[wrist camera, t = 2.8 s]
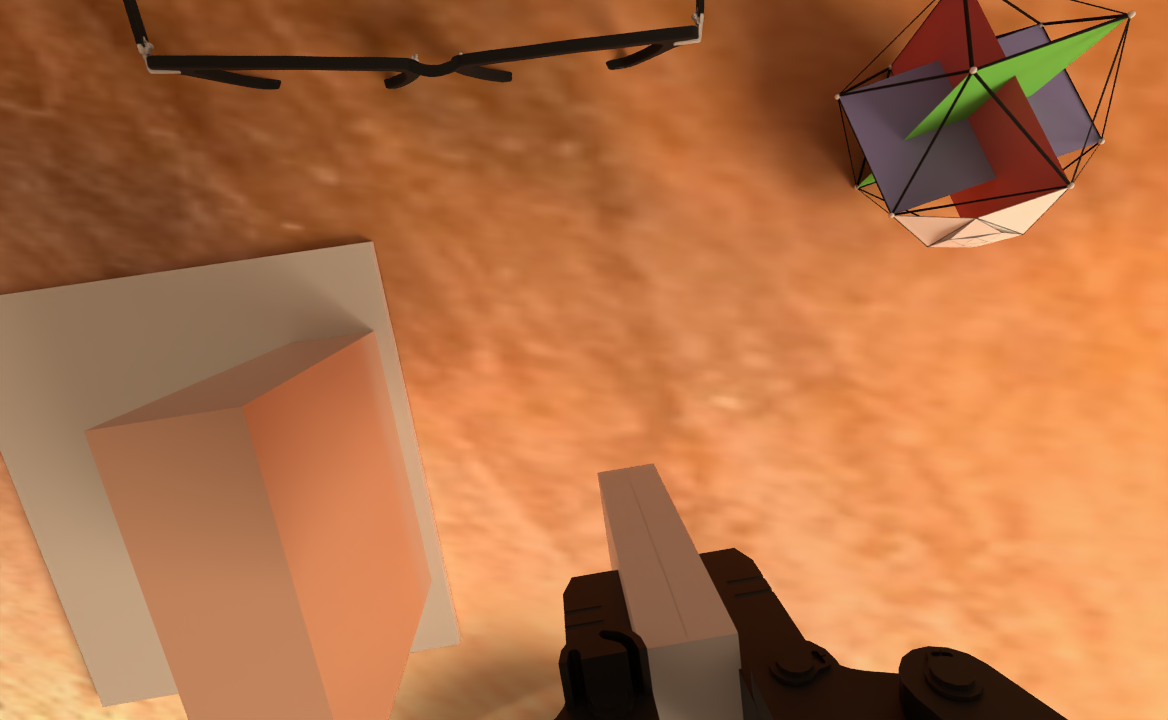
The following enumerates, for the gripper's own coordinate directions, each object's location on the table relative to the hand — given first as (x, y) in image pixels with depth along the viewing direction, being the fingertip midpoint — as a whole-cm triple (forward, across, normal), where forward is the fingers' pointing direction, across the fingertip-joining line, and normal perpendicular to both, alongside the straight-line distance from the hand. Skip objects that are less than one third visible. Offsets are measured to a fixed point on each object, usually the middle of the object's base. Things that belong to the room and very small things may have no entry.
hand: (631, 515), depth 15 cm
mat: (+7, -14, 0) cm, 16 cm away
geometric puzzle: (+7, +12, +9) cm, 17 cm away
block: (+6, -9, 0) cm, 11 cm away
